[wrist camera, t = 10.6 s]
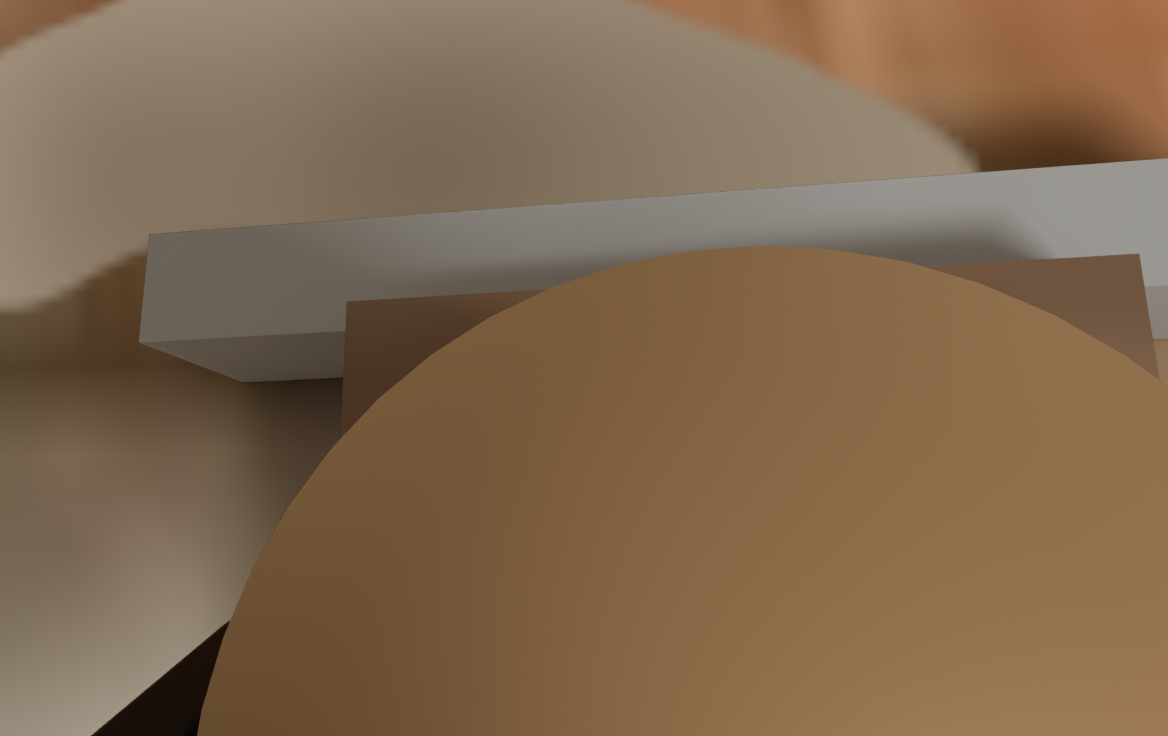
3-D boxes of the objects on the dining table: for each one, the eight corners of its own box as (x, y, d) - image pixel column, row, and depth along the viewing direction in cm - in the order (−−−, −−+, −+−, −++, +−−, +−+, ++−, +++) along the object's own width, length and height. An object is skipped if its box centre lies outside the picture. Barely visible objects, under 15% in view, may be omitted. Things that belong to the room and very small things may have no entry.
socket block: (1102, 1016, 14) (1295, 1247, 9) (434, 979, 16) (306, 1160, 11) (1019, 344, 17) (1139, 253, 12) (446, 371, 18) (346, 301, 13)
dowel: (899, 671, 15) (1851, 1240, 2) (687, 784, 15) (487, 1911, 2) (774, 459, 16) (956, 56, 3) (577, 567, 16) (37, 567, 3)
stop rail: (1283, 332, 16) (1431, 270, 13) (243, 382, 19) (138, 342, 16) (1263, 228, 16) (1401, 140, 13) (249, 292, 19) (149, 234, 16)
